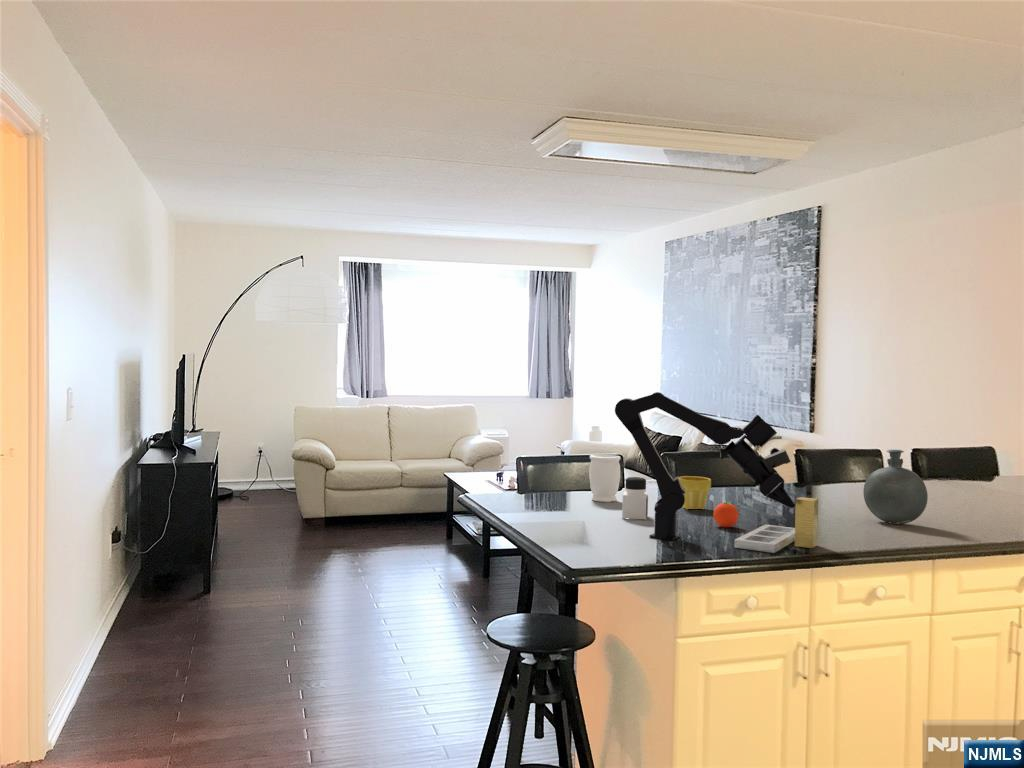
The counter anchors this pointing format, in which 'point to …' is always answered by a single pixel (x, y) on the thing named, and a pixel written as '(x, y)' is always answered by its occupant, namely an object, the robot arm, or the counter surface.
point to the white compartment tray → (766, 538)
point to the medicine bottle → (635, 499)
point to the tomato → (726, 514)
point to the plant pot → (695, 491)
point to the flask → (895, 492)
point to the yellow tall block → (806, 522)
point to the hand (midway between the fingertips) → (791, 504)
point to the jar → (604, 477)
